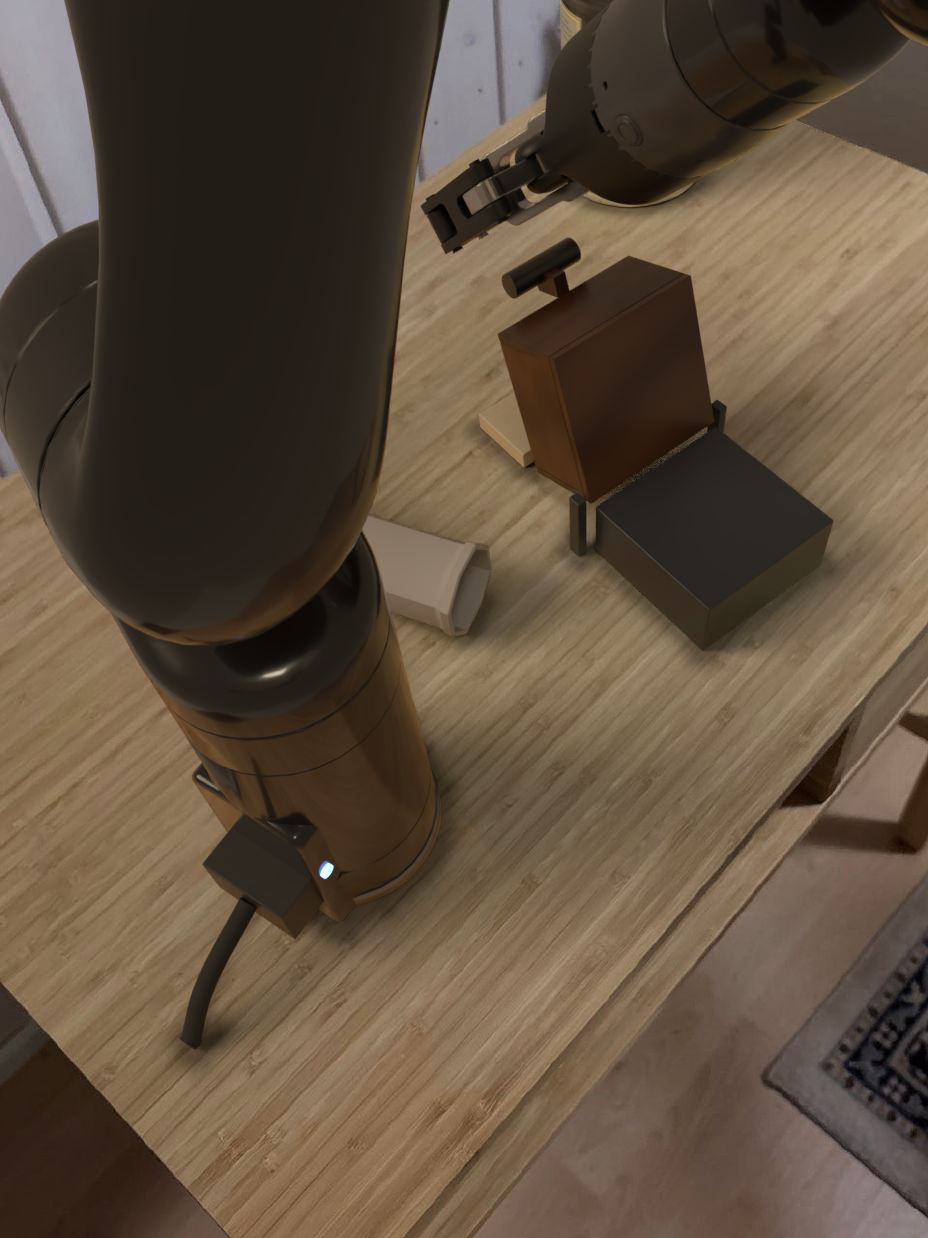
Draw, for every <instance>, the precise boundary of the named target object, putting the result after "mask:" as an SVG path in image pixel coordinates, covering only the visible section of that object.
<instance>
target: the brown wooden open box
mask: <svg viewBox="0 0 928 1238" xmlns="http://www.w3.org/2000/svg"><path fill="white" fill-rule="evenodd" d="M581 258H582V252H581V249H580V246H579V245H578V243H577V241H575V240H574V239H573V238H572V237H566V238H564V239H562V240H561V241H558V242H557V243H555V244H553V245H552V246H550V247H548V248H547V249H545V250H543V251H541V252H539V253H538V254H535V256H533V257H531V258H529V259H528V260H525V261H524V262H522V263H520V264H519V265H517V266H516V267H514V268H512V269H510V270H509V271H507V272H505V273H503V274H502V276H501V285H502V287H503V290H504V291H505V293H506V294H507V296H508V297H509V298H511V299H513V300H516V299H518V298H519V297H521V296H523V295H525V294H527V293H528V292H530V291H532V290H533V289H535V288H537V289H538V291H539V292H542V293H545V294H547V295H549V296H552V297H554V298H555V299H553V300H552V301H549V302H548V303H547V304H546V303H545V305H543V306H542V307H540V308H538V309H537V310H535V311H533V312H532V313H530V314H528V315H526V316H524V317H523V318H521V319H519V320H518V321H515V323H513V324H511V325H510V326H508V327H506V328H504V329H503V330H501V331H500V332H498V333H497V338H498V340H499V344H500V346H501V351H502V354H503V359H504V362H505V366H506V369H507V371H508V375H509V379H510V382H511V386H512V389H513V393H515V396H516V400H517V403H518V407H519V410H520V414H521V417H522V421H523V424H524V428H525V431H526V434H527V438H528V441H529V445H530V448H531V452H532V455H533V459H534V462H533V463H534V465H535V469H536V472H537V473H538V474H540V475H541V476H543V477H545V478H546V479H548V480H550V481H552V482H553V483H555V484H557V485H558V486H560V487H562V488H564V489H565V490H567V491H569V492H570V493H572V494H573V495H574V494H575V493H577V492H578V493H579V494H580V495H581V496H582V497H583V498H584V499H585V500H586V503H588V504H591V505H592V504H593V503H595V502H596V501H598V500H599V499H601V498H603V497H604V496H605V495H607V494H609V493H610V492H611V491H613V490H614V489H616V488H617V487H619V486H620V485H622V484H623V483H625V482H626V481H628V480H630V479H631V478H632V477H634V476H636V475H637V474H638V473H640V472H641V471H643V470H644V469H646V468H647V467H649V466H650V465H652V464H654V463H655V462H656V461H658V460H660V459H661V458H662V457H663V456H664V457H665V455H667V454H669V453H670V452H672V451H673V450H674V449H676V448H677V447H679V446H680V445H681V444H683V443H684V442H686V441H687V440H689V439H691V438H692V437H694V436H695V435H697V434H699V432H701V431H703V430H704V429H707V426H709V425H710V424H712V423H713V422H714V416H713V410H712V404H711V403H712V399H711V392H710V385H709V380H708V373H707V367H706V361H705V355H704V354H705V353H704V349H703V343H702V336H701V330H700V324H699V323H700V322H699V317H698V311H697V305H696V299H695V291H694V286H693V280H692V275H691V274H687V273H684V272H682V271H679V270H674V269H672V268H668V267H665V266H663V265H659V264H657V263H653V262H650V261H647V260H644V259H641V258H637V257H634V256H631V255H627V256H625V257H623V258H622V259H620V260H618V261H617V262H615V263H613V264H612V265H610V266H608V267H607V268H605V269H604V270H602V271H600V272H598V273H596V274H595V275H593V276H591V277H590V278H588V279H586V280H585V281H583V282H581V283H580V284H578V285H576V286H575V287H573V288H571V289H570V286H569V282H568V278H567V275H566V274H567V273H566V271H565V270H567V269H569V268H570V267H572V266H574V265H575V264H577V263H579V262H580V261H581Z"/></svg>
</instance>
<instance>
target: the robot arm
mask: <svg viewBox="0 0 928 1238" xmlns="http://www.w3.org/2000/svg"><path fill="white" fill-rule="evenodd" d="M63 1H64V7H65V11H66V15H67V19H68V23H69V27H70V32H71V36H72V37H71V38H72V41H73V47H74V49H75V54H76V58H77V63H78V68H79V71H80V76H81V81H82V86H83V90H84V96H85V103H86V108H87V115H88V121H89V128H90V133H91V140H92V141H91V142H92V147H93V154H94V164H95V165H94V166H95V177H96V189H97V190H96V191H97V192H96V193H97V206H98V207H97V208H98V211H97V213H98V214H97V215H98V216H97V218H98V219H95V220H92V221H89V222H87V223H83V224H81V225H77V226H76V227H74V228H72V229H70V230H68V231H66V232H64V233H62V234H60V235H59V236H57V237H56V238H54V239H53V240H50V241H49V242H47V243H46V244H45V245H44V246H43V247H41V248H40V249H39V250H37V251H36V252H35V253H34V254H33V255H32V256H31V257H30V258H29V259H27V261H26V262H25V263H24V264H23V265H22V266H21V267H20V268H19V270H18V271H17V272H16V274H15V275H14V276H13V277H12V279H11V280H10V282H9V283H8V285H7V286H6V288H5V290H4V291H3V293H2V294H1V297H0V432H1V434H2V436H3V438H4V440H5V442H6V443H7V446H8V448H9V450H10V452H11V454H12V458H13V460H14V462H15V464H16V466H17V468H18V470H19V472H20V474H21V476H22V478H23V481H24V483H25V485H26V487H27V489H28V490H29V493H30V495H31V497H32V500H33V501H34V504H35V505H36V508H37V510H38V512H39V514H40V517H41V518H42V521H43V523H44V525H45V527H46V528H47V530H48V532H49V534H50V536H51V539H52V540H53V541H54V544H55V546H56V547H57V549H58V551H59V553H60V555H61V558H62V559H63V561H64V562H65V564H66V565H67V567H68V568H69V569H70V570H71V572H72V573H73V574H74V575H75V576H76V577H77V579H79V581H80V582H81V584H83V586H85V588H86V589H87V590H88V592H89V593H90V594H91V595H92V596H93V598H95V599H96V600H97V602H99V604H101V605H102V606H103V607H104V608H105V609H106V610H107V611H108V612H109V613H110V615H111V616H112V618H113V620H114V621H115V623H116V625H117V627H118V629H119V631H120V633H121V635H122V636H123V638H124V640H125V642H126V643H127V646H128V647H129V649H130V651H131V653H132V654H133V656H134V658H135V660H136V661H137V663H138V665H139V667H140V668H141V669H142V671H143V673H144V675H145V676H146V677H147V679H148V680H149V682H150V683H151V685H152V687H153V688H154V689H155V691H156V693H157V694H158V695H159V698H160V699H161V700H162V702H163V703H164V705H165V706H166V708H167V710H168V711H169V713H170V714H171V716H172V718H173V719H174V720H175V722H176V724H177V725H178V727H179V729H180V731H181V732H182V733H183V735H184V736H185V739H186V740H187V742H188V743H189V745H190V746H191V748H192V750H193V751H194V752H195V754H196V756H197V758H199V760H200V763H199V765H198V766H197V767H196V769H194V771H193V772H192V774H191V781H192V783H194V785H195V786H196V788H197V789H198V791H199V792H200V795H202V797H203V798H204V800H205V802H206V803H207V804H208V806H209V807H210V809H211V811H212V812H213V814H214V815H215V816H216V818H217V820H218V821H219V822H220V824H221V826H222V827H223V828H224V830H225V831H226V834H225V835H224V836H223V837H222V839H221V840H220V841H219V843H218V844H217V845H215V847H214V849H212V850H211V852H210V854H208V856H207V857H206V858H205V859H204V860H203V862H202V866H203V868H204V869H205V870H206V871H207V873H208V874H209V875H210V876H211V878H212V879H213V881H214V882H215V883H216V885H217V886H218V887H219V888H220V889H222V890H223V891H224V892H226V893H227V894H229V895H230V896H232V897H233V898H234V899H236V900H237V902H236V903H235V904H236V905H235V906H234V907H233V909H232V911H231V913H230V915H229V917H228V919H227V920H226V922H225V924H224V926H223V928H221V929H222V930H221V931H220V933H219V935H218V936H217V938H216V940H215V941H214V944H213V946H212V947H211V948H210V951H209V953H208V955H207V957H206V959H205V961H204V963H203V965H202V967H201V969H200V972H199V973H198V976H197V978H196V981H195V983H194V985H193V988H192V991H191V995H190V998H189V1001H188V1004H187V1008H186V1013H185V1018H184V1022H183V1028H182V1032H181V1035H180V1037H179V1040H180V1041H181V1042H182V1043H184V1044H185V1045H187V1046H188V1047H190V1048H191V1049H193V1050H194V1051H196V1050H197V1049H198V1048H199V1046H200V1043H201V1040H202V1037H203V1033H204V1028H205V1024H206V1019H207V1015H208V1012H209V1011H208V1010H209V1007H210V1003H211V1000H212V997H213V995H214V992H215V990H216V987H217V985H218V983H219V980H220V978H221V976H222V973H224V969H226V966H227V964H228V962H229V960H230V958H231V957H232V955H233V953H234V951H235V949H236V947H237V945H238V944H239V942H240V940H241V939H242V937H243V935H244V933H245V931H246V929H247V927H248V926H249V924H250V922H251V920H252V918H253V917H254V915H255V914H258V915H259V916H261V918H262V919H265V920H266V921H267V922H269V923H271V924H272V925H274V926H275V927H276V928H278V929H279V930H281V931H282V932H284V933H285V934H287V935H288V936H290V937H291V938H292V939H294V940H296V939H298V937H299V936H300V934H301V933H302V931H303V930H304V929H305V927H307V925H308V924H309V923H310V921H311V920H312V918H313V917H314V915H315V914H316V913H317V912H318V911H320V912H321V913H323V914H324V915H326V916H327V917H329V918H331V919H332V920H333V921H335V922H338V923H340V922H343V921H344V920H346V918H347V917H348V915H349V914H350V913H351V911H352V910H353V909H354V908H355V907H356V906H358V905H363V904H367V903H371V902H373V901H377V900H378V899H381V898H383V897H385V896H387V895H389V894H391V893H392V892H394V891H396V890H397V889H399V888H400V887H401V886H403V885H404V884H406V883H407V882H408V881H409V880H410V879H412V877H413V876H414V875H415V874H416V873H417V872H418V871H419V870H420V868H421V867H422V866H423V865H424V863H425V862H426V861H427V859H428V858H429V856H430V854H431V853H432V850H433V848H434V846H435V844H436V842H437V838H438V835H439V832H440V827H441V822H442V799H441V793H440V789H439V785H438V781H437V778H436V776H435V772H434V771H433V769H432V767H431V762H430V758H429V755H428V751H427V748H426V747H427V746H426V743H425V740H424V735H423V732H422V728H421V724H420V720H419V717H418V712H417V708H416V705H415V701H414V697H413V692H412V690H411V685H410V681H409V677H408V674H407V669H406V665H405V661H404V659H403V655H402V650H401V647H400V643H399V642H400V641H399V639H398V635H397V630H396V627H395V623H394V619H393V614H392V612H391V611H390V607H389V603H388V600H387V596H386V592H385V588H384V584H383V580H382V577H381V573H380V570H379V567H378V563H377V560H376V557H375V555H374V552H373V550H372V548H371V546H370V544H369V541H368V539H367V537H366V535H365V533H364V531H363V530H362V529H363V527H364V525H365V523H366V521H367V519H368V516H369V514H371V511H372V508H373V505H374V502H375V499H376V496H377V493H378V488H379V485H380V480H381V475H382V471H383V465H384V460H385V453H386V449H387V448H386V447H387V441H388V431H389V424H390V423H389V422H390V414H391V404H392V393H393V382H394V375H395V374H394V372H395V362H396V354H397V353H396V352H397V342H398V331H399V321H400V311H401V303H402V302H401V301H402V291H403V280H404V271H405V260H406V254H407V253H406V252H407V243H408V235H409V227H410V219H411V212H412V204H413V198H414V191H415V185H416V178H417V171H418V165H419V160H420V155H421V150H422V149H421V148H422V144H423V138H424V133H425V129H426V123H427V118H428V113H429V107H430V102H431V98H432V93H433V88H434V83H435V78H436V73H437V67H438V64H439V58H440V53H441V49H442V42H443V39H444V34H445V27H446V22H447V18H448V13H449V9H450V8H449V7H450V2H451V0H63ZM911 41H913V42H915V43H917V44H919V45H922V46H924V47H926V48H928V0H613V1H612V2H610V3H609V4H608V5H607V6H606V7H605V8H604V9H603V10H602V11H600V12H599V13H598V14H597V15H596V16H595V17H594V18H593V19H592V20H591V21H589V22H588V23H587V24H586V25H585V26H584V27H583V28H582V29H581V30H580V31H578V32H577V33H576V34H575V35H574V36H573V37H572V38H571V39H570V40H569V41H568V42H567V43H566V45H565V46H564V47H563V48H562V50H561V49H560V52H559V53H558V54H557V56H556V59H555V60H554V62H553V66H552V67H551V70H550V74H549V77H548V82H547V86H546V87H547V88H546V93H545V108H544V109H543V110H541V111H540V112H539V113H536V114H535V115H534V116H532V117H531V118H529V120H528V122H527V125H526V127H525V129H523V130H522V131H520V132H518V133H517V134H515V135H514V136H512V137H510V138H509V139H507V140H506V141H504V142H502V143H501V144H500V145H498V146H496V147H495V148H493V149H492V150H490V151H489V152H487V153H485V154H484V155H483V156H482V158H481V160H480V158H477V159H474V160H473V161H472V162H470V163H469V164H468V167H467V168H466V169H465V170H463V171H462V172H461V173H460V174H458V175H457V176H456V177H455V178H453V179H452V180H451V181H450V182H448V183H447V184H446V185H445V186H443V187H442V188H441V189H439V190H438V191H437V192H436V193H433V194H431V195H429V196H428V197H426V198H425V202H423V203H422V204H420V208H421V210H422V212H423V214H424V216H426V218H427V220H428V222H429V223H430V225H431V227H432V229H433V231H434V234H435V235H436V237H437V239H438V241H439V242H440V247H441V248H442V249H441V250H443V253H444V255H447V254H450V253H451V252H452V254H456V253H458V252H459V251H461V250H462V249H463V248H464V247H463V246H466V245H467V244H468V243H470V242H472V241H474V240H476V239H478V240H479V241H480V240H482V239H484V238H485V237H487V236H489V235H490V234H489V232H490V231H492V230H493V229H495V228H497V227H498V226H500V225H502V224H504V223H505V222H507V223H508V224H510V225H512V226H515V227H517V226H520V225H523V224H525V223H526V222H528V221H530V220H532V219H534V218H535V217H537V216H540V215H541V214H543V213H544V212H546V211H548V210H550V209H551V208H553V207H554V206H556V205H558V204H559V203H561V202H565V203H570V202H574V201H576V200H577V199H579V198H582V197H584V196H583V195H585V194H586V193H588V192H590V191H591V192H593V193H594V194H596V195H598V196H600V197H601V198H604V199H606V200H608V201H612V202H615V203H619V204H625V205H642V204H648V203H652V202H656V201H658V200H661V199H663V198H665V197H667V196H669V195H671V194H673V193H674V192H676V191H678V190H680V189H682V188H684V187H686V186H688V185H689V184H691V183H693V182H695V183H696V182H697V181H699V180H701V179H703V178H705V177H707V176H708V175H710V174H712V173H714V172H716V171H718V170H720V169H722V168H723V167H725V166H727V165H729V164H731V163H732V162H735V161H736V160H738V159H741V158H742V157H744V156H746V155H748V154H749V153H751V152H753V151H755V150H757V149H758V148H760V147H761V146H763V145H764V144H766V143H767V142H768V141H769V140H771V139H772V138H773V137H775V136H776V135H777V134H779V132H781V131H782V130H783V129H784V128H785V127H787V126H788V125H790V124H791V123H794V121H796V120H799V119H800V118H803V116H805V115H807V114H809V113H811V112H813V111H815V110H816V109H819V108H820V107H822V106H824V105H826V104H828V103H829V102H831V101H833V100H835V99H837V98H839V97H840V96H843V95H844V94H846V93H848V92H850V91H852V90H853V89H855V88H856V87H858V86H860V85H861V84H863V83H864V82H866V81H868V80H869V79H870V78H872V77H874V76H875V75H876V74H877V73H879V72H880V71H881V70H882V69H884V68H885V67H886V66H887V65H888V64H890V63H891V62H892V61H893V60H894V59H895V58H896V57H897V56H898V55H899V54H901V53H902V51H903V50H904V49H905V48H906V47H907V46H908V45H909V44H910V42H911ZM513 154H514V164H513V165H511V158H512V156H513ZM524 187H526V188H527V189H528V191H530V192H531V193H533V194H536V195H542V194H547V195H545V196H544V197H542V198H541V199H539V200H537V201H535V202H532V201H530V200H529V199H528V198H527V196H526V195H525V193H524V191H523V189H522V188H524Z"/></svg>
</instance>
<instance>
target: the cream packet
mask: <svg viewBox="0 0 928 1238" xmlns="http://www.w3.org/2000/svg"><path fill="white" fill-rule="evenodd" d="M478 420H479V427H480V428H481V430H483V431H484V432H485V433H486V434H487V435H488V436H489V437H490V438H491V439H492V440H493V441H494V442H496V443H497V444H498V445H499V446H500V447H501V448H502V449H503V450H504V451H505V452H506V453H507V454H508V455H510V456H511V457H512V458H513V459H514V460H515V461H516V462H517V463H518V464H519V465H520V466H521V467H522V468H526V467H528V466H530V465H531V464H532V463H535V462H534V459H533V455H532V452H531V448H530V445H529V441H528V438H527V434H526V431H525V428H524V424H523V421H522V417H521V414H520V410H519V407H518V403H517V400H516V396H515V393H514V392H512V393H511V394H509V395H507V396H506V397H504V398H502V399H501V400H499V401H497V402H496V403H494V404H493V405H492V406H490V407H488V408H487V409H485V410H483V411H482V412H479V414H478Z"/></svg>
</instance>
